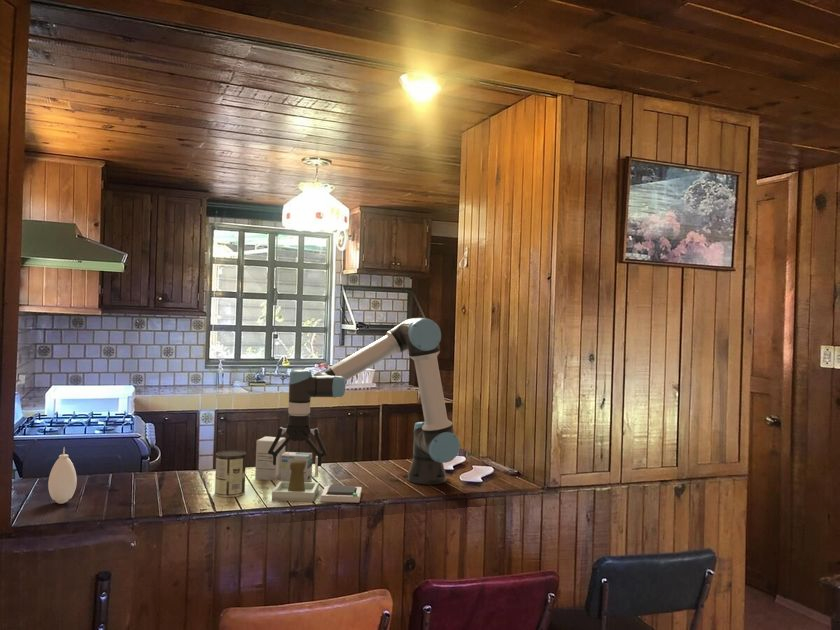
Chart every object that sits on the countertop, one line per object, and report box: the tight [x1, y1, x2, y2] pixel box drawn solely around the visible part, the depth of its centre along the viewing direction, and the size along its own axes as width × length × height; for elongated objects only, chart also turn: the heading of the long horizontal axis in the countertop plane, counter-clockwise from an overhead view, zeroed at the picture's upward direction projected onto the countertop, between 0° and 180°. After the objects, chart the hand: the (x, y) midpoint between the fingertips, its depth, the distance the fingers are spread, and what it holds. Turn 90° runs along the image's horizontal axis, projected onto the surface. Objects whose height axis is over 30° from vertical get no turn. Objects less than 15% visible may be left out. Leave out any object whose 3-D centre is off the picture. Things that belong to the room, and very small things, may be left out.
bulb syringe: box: [47, 446, 78, 505], centre depth 210 cm, size 8×8×18 cm
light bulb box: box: [279, 451, 313, 482], centre depth 248 cm, size 11×7×11 cm, turn 84°
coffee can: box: [214, 450, 247, 498], centre depth 228 cm, size 10×10×14 cm
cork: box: [288, 461, 305, 492], centre depth 229 cm, size 6×6×11 cm
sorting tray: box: [271, 480, 320, 503], centre depth 229 cm, size 14×14×3 cm
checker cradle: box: [320, 485, 362, 503], centre depth 229 cm, size 13×13×3 cm
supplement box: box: [254, 436, 287, 481], centre depth 253 cm, size 9×9×15 cm
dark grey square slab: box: [328, 484, 357, 495], centre depth 229 cm, size 9×9×2 cm
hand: (296, 475), depth 229 cm, fingers open, 13 cm apart
